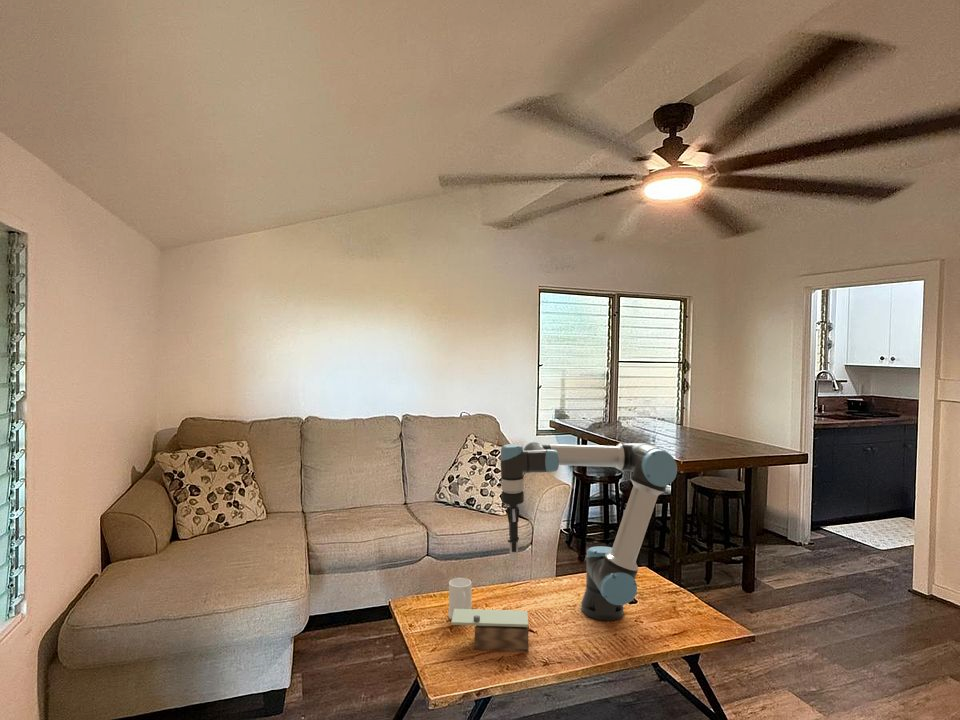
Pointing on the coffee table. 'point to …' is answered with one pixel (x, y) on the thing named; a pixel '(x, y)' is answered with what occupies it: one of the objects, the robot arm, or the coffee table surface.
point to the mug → (459, 595)
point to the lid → (490, 617)
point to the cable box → (501, 638)
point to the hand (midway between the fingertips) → (514, 560)
